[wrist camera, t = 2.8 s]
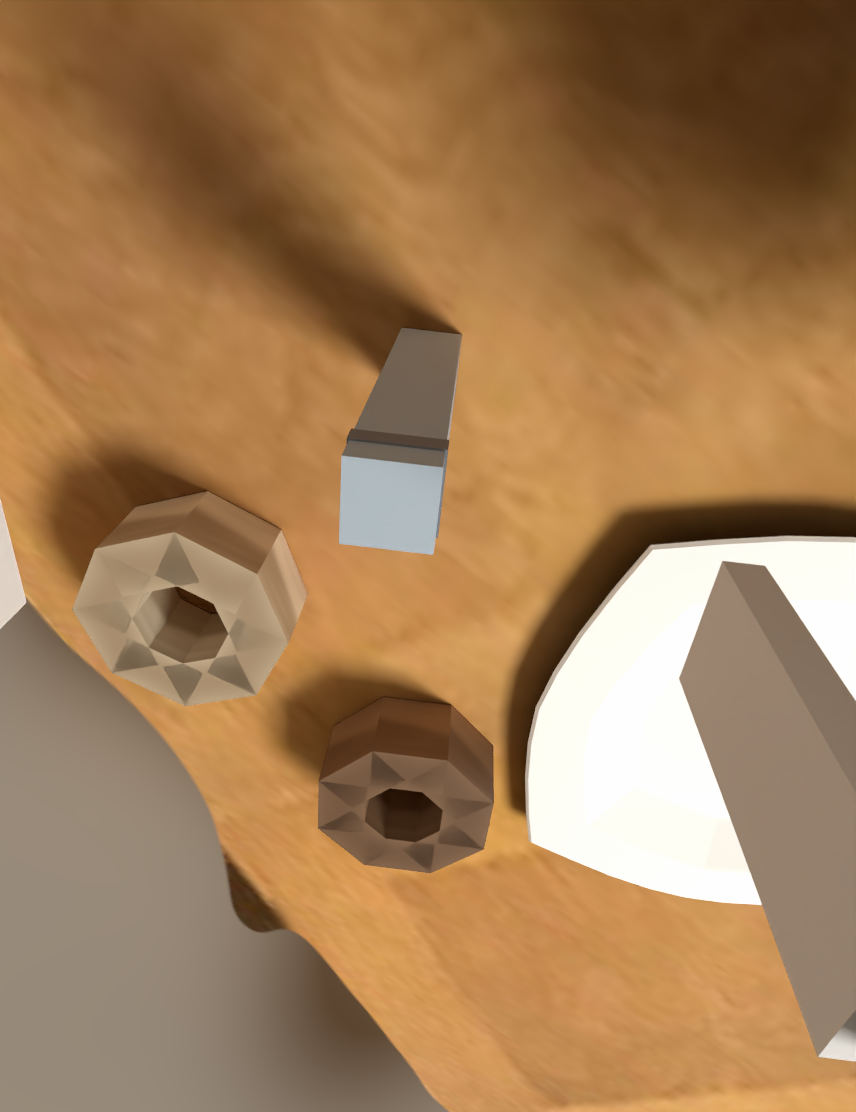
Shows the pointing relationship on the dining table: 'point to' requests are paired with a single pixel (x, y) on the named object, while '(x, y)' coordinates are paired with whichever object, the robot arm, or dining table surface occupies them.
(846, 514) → the dining table surface
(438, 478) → the long pale blue brick
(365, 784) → the walnut bead
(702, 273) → the dining table surface
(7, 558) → the robot arm
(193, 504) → the maple bead
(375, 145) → the dining table surface
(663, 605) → the plate
